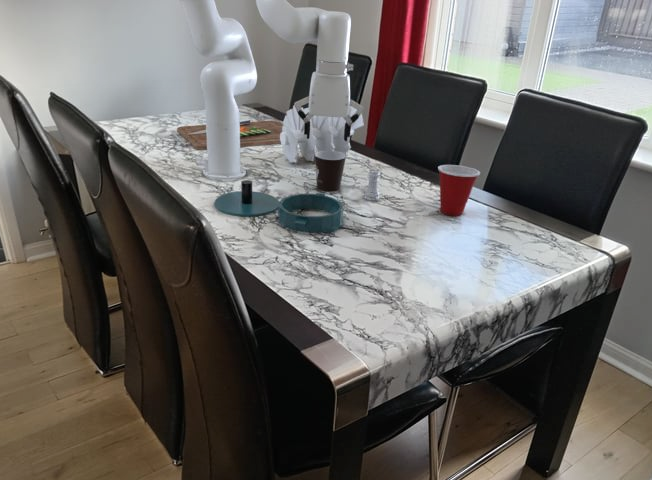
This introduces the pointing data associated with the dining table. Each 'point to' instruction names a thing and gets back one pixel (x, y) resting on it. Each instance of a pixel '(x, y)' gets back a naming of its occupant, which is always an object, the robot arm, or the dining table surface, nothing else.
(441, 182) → the plastic cup
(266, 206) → the lid
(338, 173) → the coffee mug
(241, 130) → the chopping board
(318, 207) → the pot
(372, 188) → the rook chess piece
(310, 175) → the dining table surface
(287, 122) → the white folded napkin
